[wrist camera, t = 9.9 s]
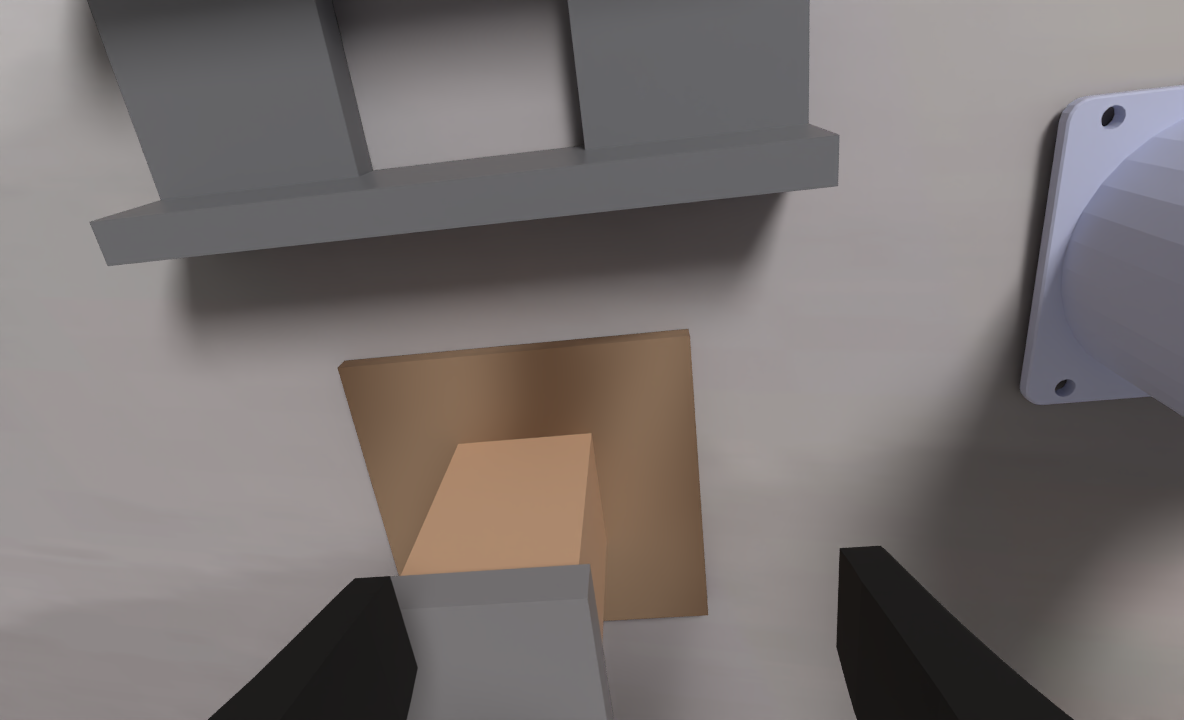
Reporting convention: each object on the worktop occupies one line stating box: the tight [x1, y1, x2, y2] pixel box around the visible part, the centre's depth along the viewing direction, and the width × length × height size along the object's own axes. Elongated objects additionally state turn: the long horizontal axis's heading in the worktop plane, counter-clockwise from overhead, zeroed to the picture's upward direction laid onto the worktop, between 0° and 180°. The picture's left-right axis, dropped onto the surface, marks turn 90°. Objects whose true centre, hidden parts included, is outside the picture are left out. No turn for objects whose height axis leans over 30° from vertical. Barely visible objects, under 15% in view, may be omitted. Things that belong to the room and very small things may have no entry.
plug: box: [391, 433, 614, 720], centre depth 18 cm, size 5×5×7 cm
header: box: [87, 0, 839, 266], centre depth 15 cm, size 16×8×4 cm, turn 97°
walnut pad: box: [338, 329, 708, 621], centre depth 21 cm, size 10×10×1 cm
